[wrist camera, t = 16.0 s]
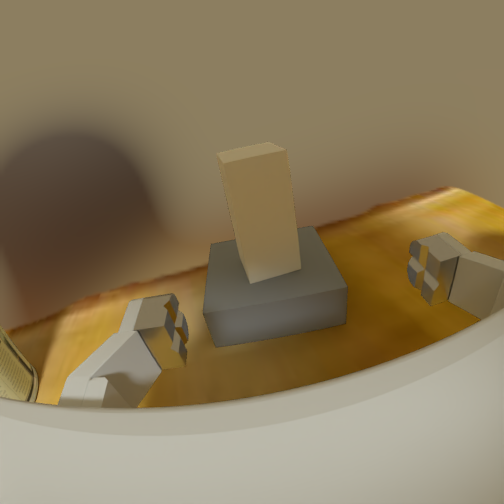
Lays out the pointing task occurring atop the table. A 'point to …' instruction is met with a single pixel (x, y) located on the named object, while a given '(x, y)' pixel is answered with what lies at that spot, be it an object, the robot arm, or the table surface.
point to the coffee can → (16, 372)
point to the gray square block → (273, 295)
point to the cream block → (261, 209)
